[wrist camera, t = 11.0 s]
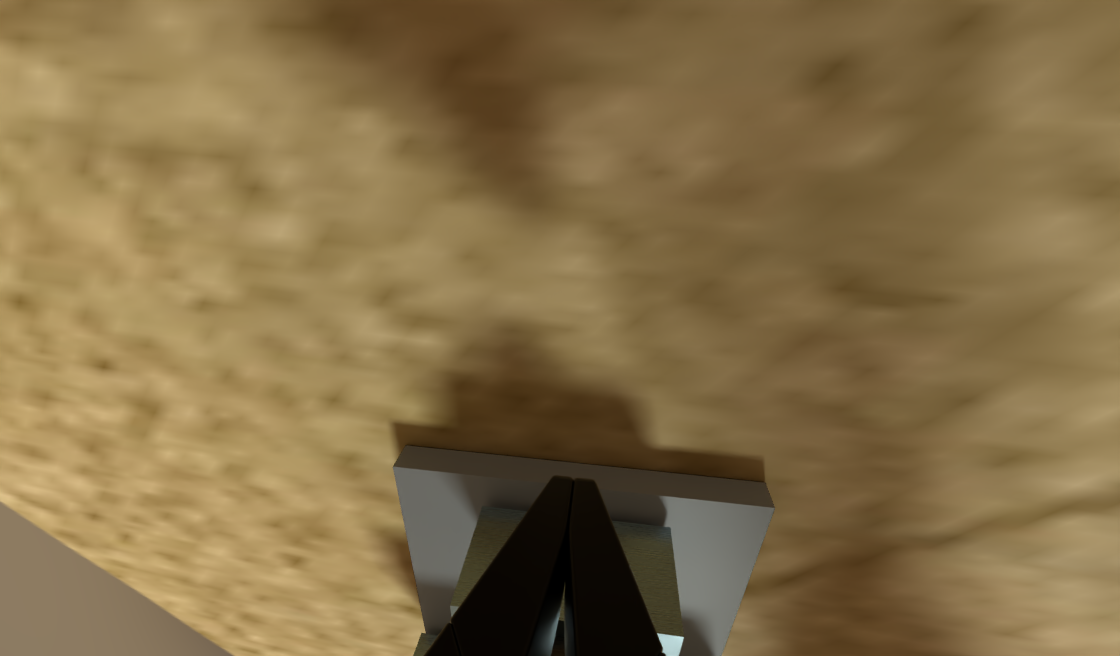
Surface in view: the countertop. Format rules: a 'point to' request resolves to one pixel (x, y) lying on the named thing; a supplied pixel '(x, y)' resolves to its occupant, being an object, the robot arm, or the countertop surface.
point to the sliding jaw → (645, 556)
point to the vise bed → (630, 496)
